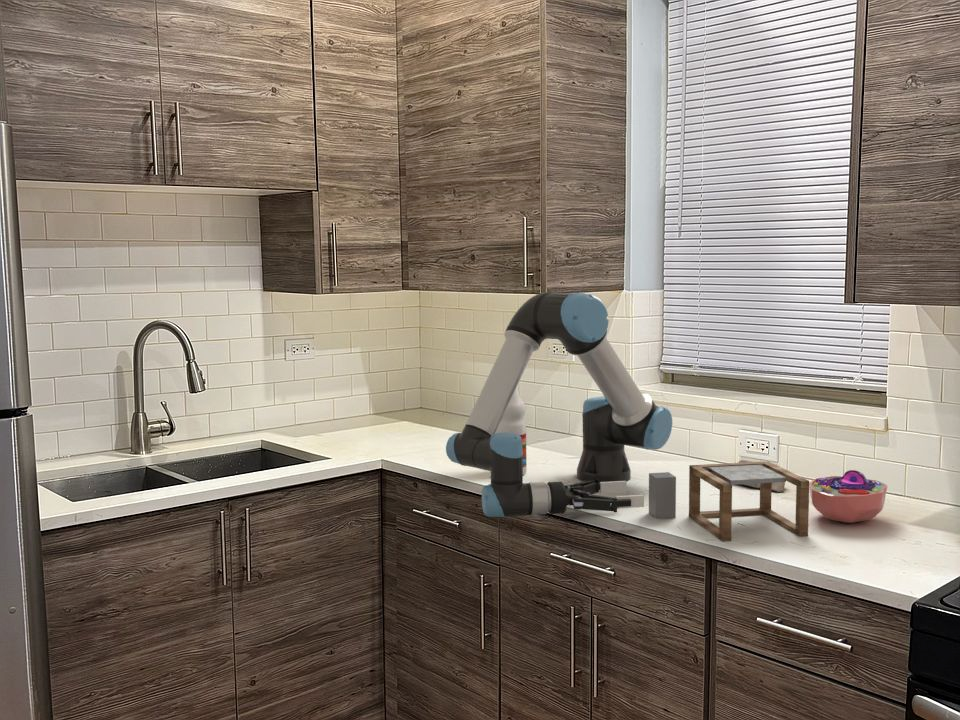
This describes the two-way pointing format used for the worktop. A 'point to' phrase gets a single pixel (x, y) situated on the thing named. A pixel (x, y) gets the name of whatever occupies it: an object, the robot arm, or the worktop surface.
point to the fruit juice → (515, 422)
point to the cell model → (848, 497)
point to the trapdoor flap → (746, 474)
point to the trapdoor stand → (726, 509)
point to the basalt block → (662, 495)
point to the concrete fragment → (775, 486)
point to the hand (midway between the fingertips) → (634, 493)
